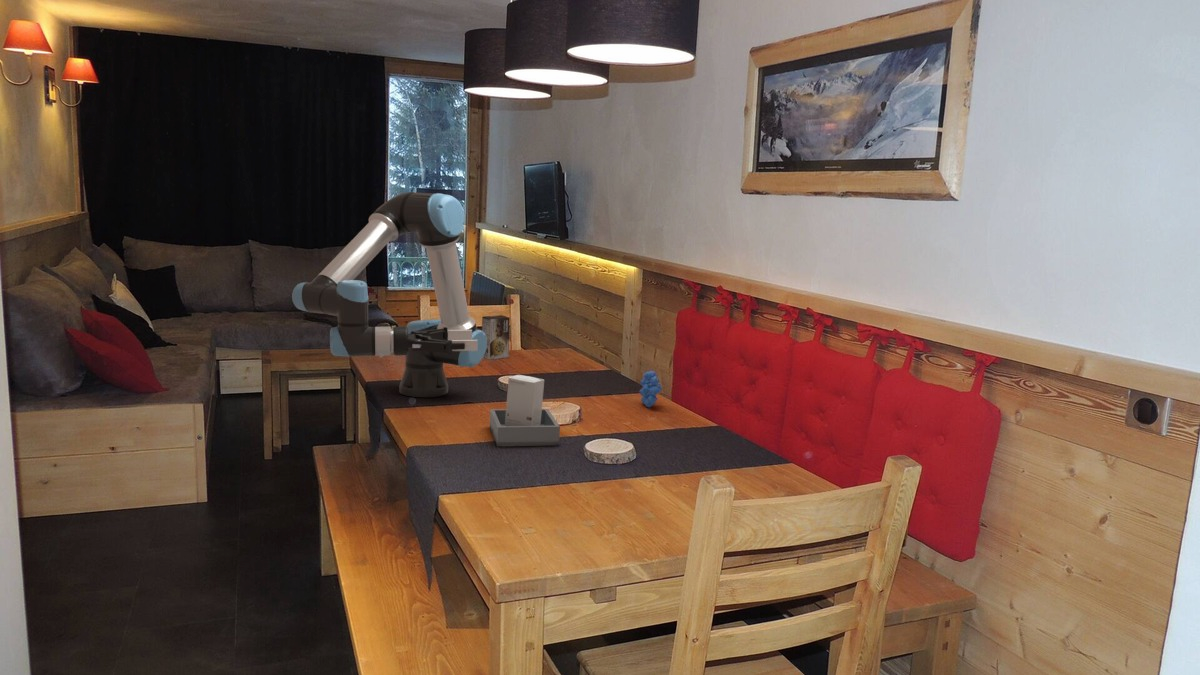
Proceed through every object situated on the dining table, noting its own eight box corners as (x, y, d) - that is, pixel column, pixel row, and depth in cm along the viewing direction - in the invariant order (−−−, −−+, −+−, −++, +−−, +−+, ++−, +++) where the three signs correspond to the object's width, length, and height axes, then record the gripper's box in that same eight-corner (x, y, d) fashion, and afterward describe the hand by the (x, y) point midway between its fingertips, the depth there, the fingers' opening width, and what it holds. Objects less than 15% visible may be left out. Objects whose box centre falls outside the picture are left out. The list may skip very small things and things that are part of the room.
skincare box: (503, 432, 222) (505, 377, 219) (515, 427, 227) (517, 373, 225) (531, 437, 219) (534, 381, 216) (542, 431, 224) (544, 377, 222)
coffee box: (500, 354, 333) (501, 314, 330) (509, 357, 328) (510, 317, 325) (480, 356, 327) (481, 315, 324) (489, 359, 322) (490, 318, 319)
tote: (489, 426, 230) (490, 409, 229) (547, 426, 234) (547, 408, 233) (497, 446, 212) (497, 427, 212) (559, 445, 216) (559, 426, 215)
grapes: (668, 411, 257) (670, 373, 255) (647, 412, 255) (650, 373, 253) (654, 402, 268) (656, 365, 266) (634, 402, 266) (636, 366, 264)
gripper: (392, 345, 230) (469, 344, 235) (393, 366, 206) (479, 364, 212) (391, 318, 229) (469, 317, 234) (393, 336, 205) (479, 335, 210)
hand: (474, 339), depth 223 cm, fingers open, 13 cm apart
